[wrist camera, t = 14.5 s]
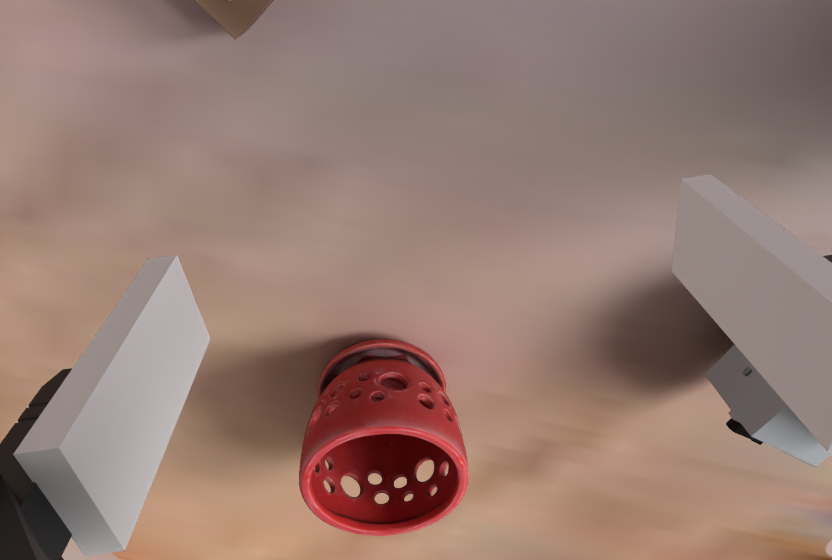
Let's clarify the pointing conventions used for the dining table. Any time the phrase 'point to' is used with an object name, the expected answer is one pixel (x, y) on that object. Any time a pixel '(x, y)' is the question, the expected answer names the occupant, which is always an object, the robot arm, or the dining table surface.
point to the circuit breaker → (761, 409)
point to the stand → (235, 13)
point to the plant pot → (382, 440)
